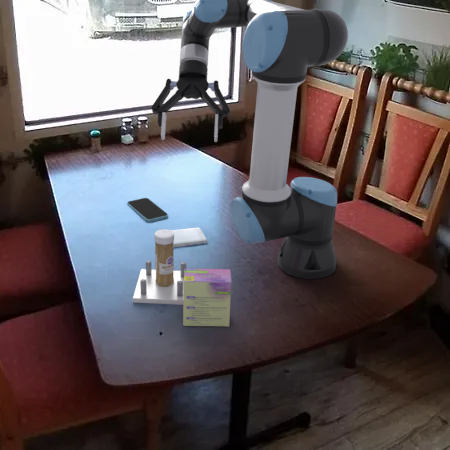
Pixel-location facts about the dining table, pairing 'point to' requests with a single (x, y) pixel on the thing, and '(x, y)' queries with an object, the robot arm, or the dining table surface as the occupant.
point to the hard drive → (188, 237)
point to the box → (206, 297)
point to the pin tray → (159, 287)
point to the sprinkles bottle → (164, 257)
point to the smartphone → (147, 209)
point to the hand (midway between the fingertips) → (189, 138)
